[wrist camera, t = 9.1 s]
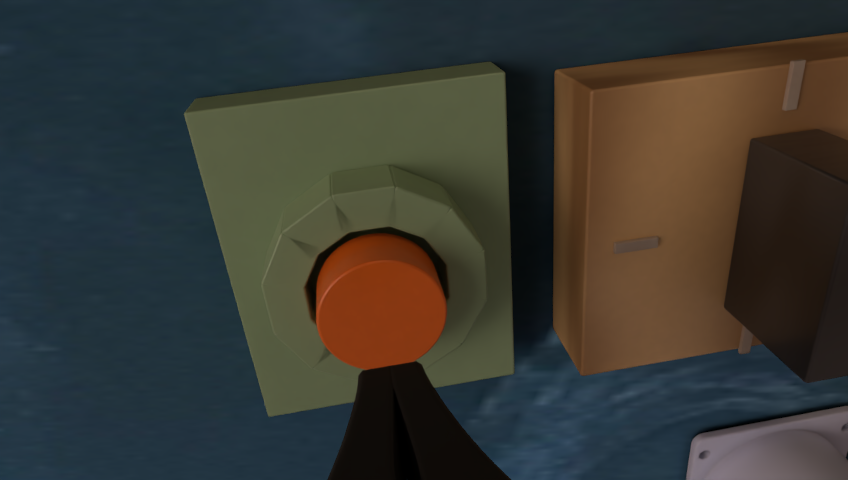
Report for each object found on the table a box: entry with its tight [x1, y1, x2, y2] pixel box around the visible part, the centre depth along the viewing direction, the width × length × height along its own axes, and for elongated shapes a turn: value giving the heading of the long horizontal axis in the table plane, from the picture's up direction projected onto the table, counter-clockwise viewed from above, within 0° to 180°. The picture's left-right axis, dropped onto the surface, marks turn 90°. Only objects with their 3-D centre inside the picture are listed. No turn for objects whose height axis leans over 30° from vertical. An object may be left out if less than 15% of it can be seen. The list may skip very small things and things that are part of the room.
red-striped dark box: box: [724, 129, 848, 383], centre depth 17 cm, size 6×2×4 cm, turn 5°
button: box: [316, 233, 447, 370], centre depth 17 cm, size 4×4×2 cm
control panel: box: [553, 32, 848, 376], centre depth 21 cm, size 12×10×3 cm
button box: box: [184, 62, 514, 416], centre depth 19 cm, size 11×9×4 cm
